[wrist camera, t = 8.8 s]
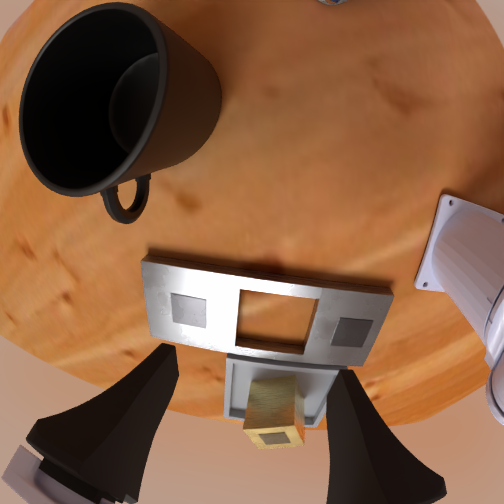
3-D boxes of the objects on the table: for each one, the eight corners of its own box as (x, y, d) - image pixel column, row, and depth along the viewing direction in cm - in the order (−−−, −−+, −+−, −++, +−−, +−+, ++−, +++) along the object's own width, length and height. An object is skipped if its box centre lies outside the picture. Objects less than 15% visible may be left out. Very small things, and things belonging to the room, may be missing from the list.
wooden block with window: (295, 374, 24) (294, 426, 19) (304, 399, 26) (304, 445, 20) (250, 381, 25) (242, 430, 20) (264, 404, 27) (258, 449, 22)
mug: (113, 203, 20) (34, 247, 12) (108, 62, 15) (24, 45, 7) (224, 201, 19) (177, 256, 11) (223, 37, 14) (175, -25, 6)
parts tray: (345, 359, 23) (347, 371, 22) (316, 417, 28) (316, 427, 27) (229, 346, 24) (226, 357, 23) (225, 408, 29) (223, 417, 28)
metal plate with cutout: (389, 288, 20) (394, 296, 19) (360, 357, 23) (362, 366, 22) (147, 254, 21) (140, 261, 20) (155, 328, 25) (150, 336, 23)
